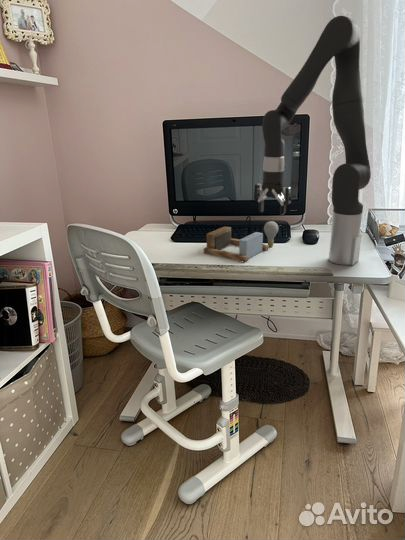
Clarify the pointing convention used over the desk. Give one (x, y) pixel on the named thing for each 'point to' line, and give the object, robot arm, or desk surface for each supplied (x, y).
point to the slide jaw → (251, 244)
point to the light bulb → (270, 231)
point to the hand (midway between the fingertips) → (271, 213)
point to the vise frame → (224, 244)
